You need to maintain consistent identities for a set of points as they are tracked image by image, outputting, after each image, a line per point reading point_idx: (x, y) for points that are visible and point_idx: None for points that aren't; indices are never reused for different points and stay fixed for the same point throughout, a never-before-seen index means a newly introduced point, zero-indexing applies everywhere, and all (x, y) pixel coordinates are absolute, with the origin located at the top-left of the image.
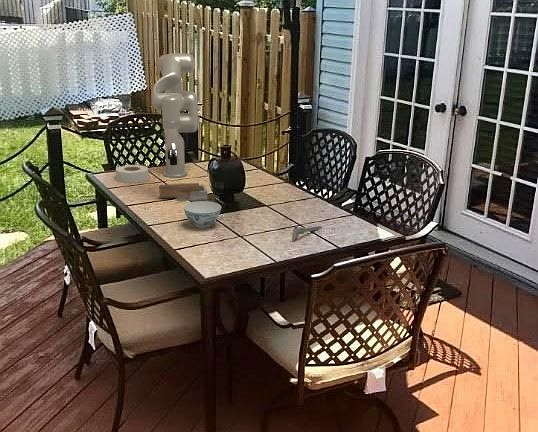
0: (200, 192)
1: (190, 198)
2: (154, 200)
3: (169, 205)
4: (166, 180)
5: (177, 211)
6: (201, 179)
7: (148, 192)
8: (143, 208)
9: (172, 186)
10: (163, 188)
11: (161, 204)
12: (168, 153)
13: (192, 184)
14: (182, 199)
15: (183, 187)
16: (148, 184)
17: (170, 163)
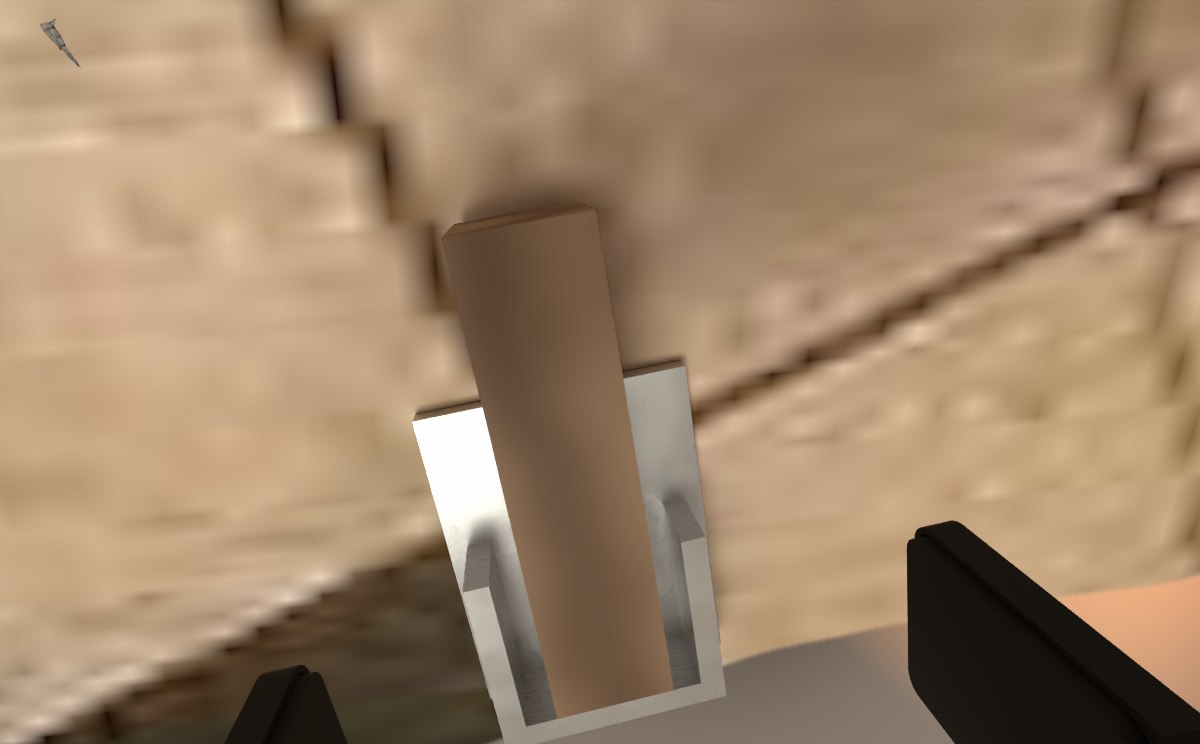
0: (491, 683)
1: (462, 553)
2: (428, 148)
3: (247, 350)
4: (1188, 222)
5: (34, 460)
6: (1127, 560)
7: (761, 36)
8: (52, 22)
9: (508, 414)
10: (454, 287)
11: (273, 252)
12: (1049, 678)
13: (610, 637)
14: (428, 478)
15: (516, 542)
16: (1089, 7)
17: (250, 721)
